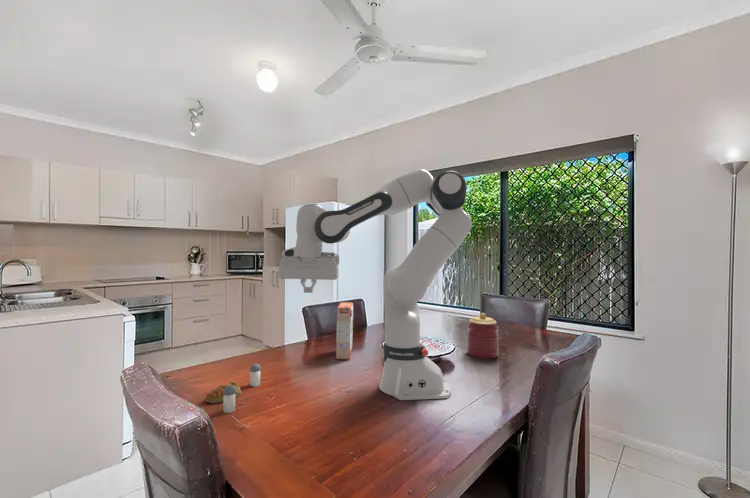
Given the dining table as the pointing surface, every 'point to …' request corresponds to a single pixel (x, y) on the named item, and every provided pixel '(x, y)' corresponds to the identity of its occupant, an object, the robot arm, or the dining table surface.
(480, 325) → the canister
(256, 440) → the dining table surface
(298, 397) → the dining table surface
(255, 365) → the posts
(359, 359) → the dining table surface
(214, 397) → the pastry
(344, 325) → the cracker box
